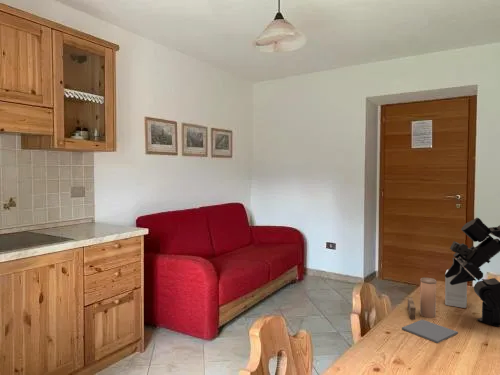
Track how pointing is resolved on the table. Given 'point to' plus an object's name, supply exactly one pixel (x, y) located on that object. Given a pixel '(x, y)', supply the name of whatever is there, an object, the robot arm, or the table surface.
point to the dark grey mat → (429, 331)
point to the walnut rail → (411, 308)
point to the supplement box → (455, 293)
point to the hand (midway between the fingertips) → (448, 280)
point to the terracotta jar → (428, 297)
